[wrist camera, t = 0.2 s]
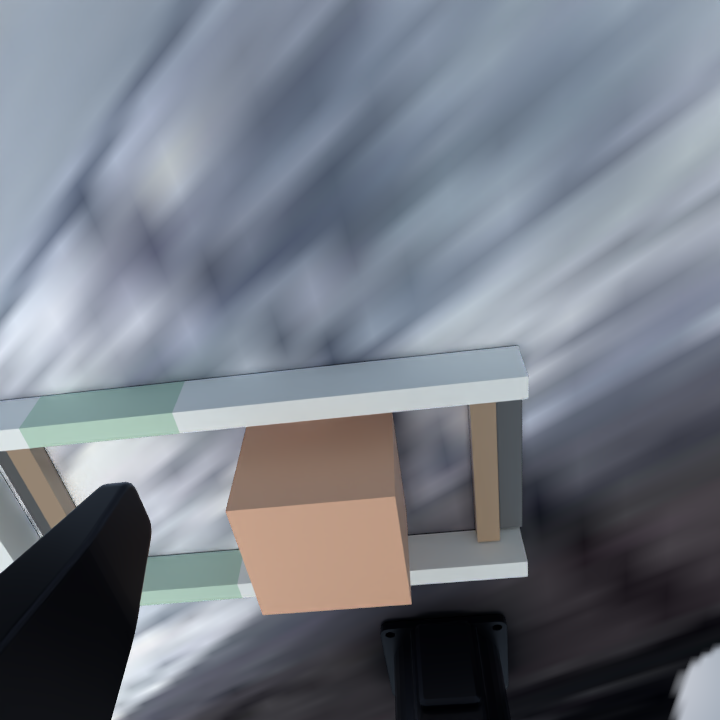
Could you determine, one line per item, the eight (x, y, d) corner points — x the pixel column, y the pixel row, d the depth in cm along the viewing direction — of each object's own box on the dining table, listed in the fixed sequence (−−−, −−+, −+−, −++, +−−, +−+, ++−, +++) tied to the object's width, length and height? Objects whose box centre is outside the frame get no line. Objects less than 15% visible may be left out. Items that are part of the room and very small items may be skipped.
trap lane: (521, 540, 31) (529, 576, 29) (44, 579, 33) (27, 614, 31) (520, 345, 25) (531, 376, 23) (-64, 407, 27) (-92, 439, 25)
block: (406, 509, 30) (411, 604, 26) (277, 520, 31) (262, 615, 26) (391, 406, 27) (395, 496, 23) (247, 420, 27) (225, 511, 23)
